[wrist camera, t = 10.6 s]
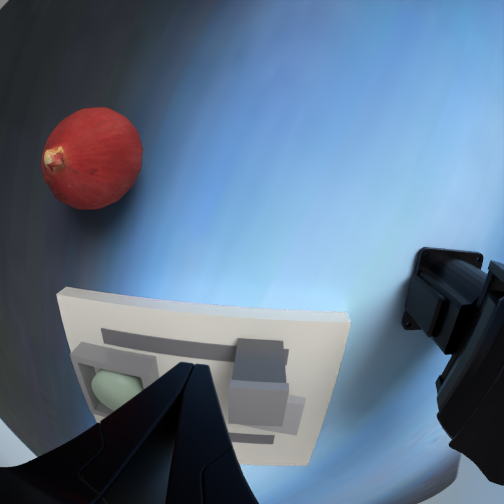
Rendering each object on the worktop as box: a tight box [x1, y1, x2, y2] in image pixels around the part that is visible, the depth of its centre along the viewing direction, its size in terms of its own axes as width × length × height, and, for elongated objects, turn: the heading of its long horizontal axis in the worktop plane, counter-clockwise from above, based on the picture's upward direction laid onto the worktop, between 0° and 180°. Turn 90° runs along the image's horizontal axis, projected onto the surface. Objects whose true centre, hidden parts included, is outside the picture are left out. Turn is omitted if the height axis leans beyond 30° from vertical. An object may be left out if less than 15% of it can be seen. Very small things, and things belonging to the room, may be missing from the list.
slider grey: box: [228, 338, 289, 426], centre depth 17 cm, size 3×3×5 cm
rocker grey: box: [239, 395, 306, 436], centre depth 19 cm, size 5×4×1 cm
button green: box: [91, 368, 144, 411], centre depth 21 cm, size 4×4×2 cm
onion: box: [41, 108, 143, 210], centre depth 14 cm, size 6×6×8 cm
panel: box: [56, 287, 351, 466], centre depth 22 cm, size 22×18×4 cm
